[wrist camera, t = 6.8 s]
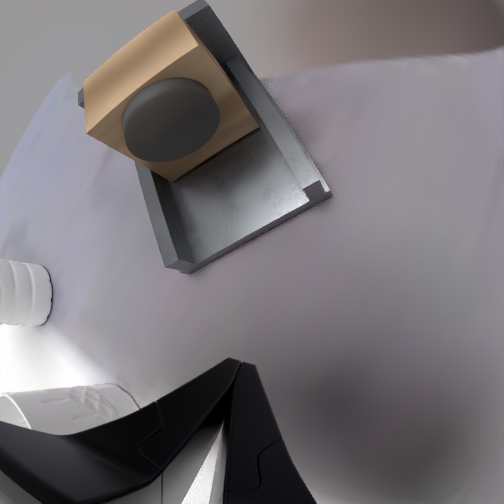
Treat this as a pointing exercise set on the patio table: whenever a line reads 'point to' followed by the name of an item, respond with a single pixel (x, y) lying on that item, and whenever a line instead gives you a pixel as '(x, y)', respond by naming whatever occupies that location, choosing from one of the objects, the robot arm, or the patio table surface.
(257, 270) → the patio table surface
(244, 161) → the grey open holder
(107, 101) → the tan box
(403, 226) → the patio table surface
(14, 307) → the water bottle
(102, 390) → the white cup
